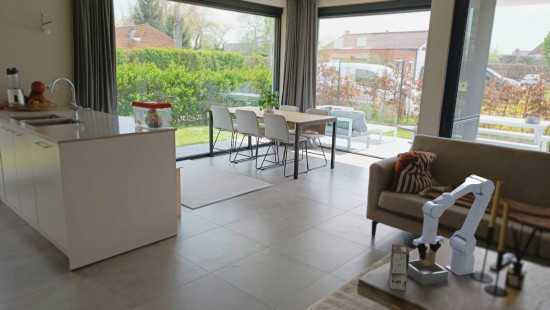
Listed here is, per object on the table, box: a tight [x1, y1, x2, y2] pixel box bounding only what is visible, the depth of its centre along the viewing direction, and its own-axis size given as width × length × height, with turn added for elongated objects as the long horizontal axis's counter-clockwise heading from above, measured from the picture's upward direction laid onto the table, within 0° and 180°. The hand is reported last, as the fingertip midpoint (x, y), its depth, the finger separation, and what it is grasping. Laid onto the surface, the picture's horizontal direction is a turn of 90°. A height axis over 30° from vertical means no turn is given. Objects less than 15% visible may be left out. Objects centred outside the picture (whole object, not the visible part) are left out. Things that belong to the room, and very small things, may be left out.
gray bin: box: [407, 258, 449, 286], centre depth 174 cm, size 13×13×4 cm
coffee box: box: [388, 243, 411, 291], centre depth 166 cm, size 9×6×16 cm
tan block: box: [418, 247, 437, 266], centre depth 172 cm, size 4×4×6 cm
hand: (426, 258), depth 173 cm, fingers closed on tan block, 4 cm apart
